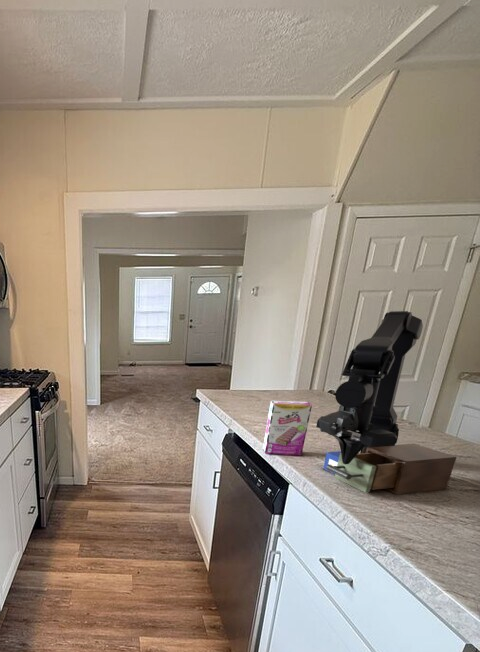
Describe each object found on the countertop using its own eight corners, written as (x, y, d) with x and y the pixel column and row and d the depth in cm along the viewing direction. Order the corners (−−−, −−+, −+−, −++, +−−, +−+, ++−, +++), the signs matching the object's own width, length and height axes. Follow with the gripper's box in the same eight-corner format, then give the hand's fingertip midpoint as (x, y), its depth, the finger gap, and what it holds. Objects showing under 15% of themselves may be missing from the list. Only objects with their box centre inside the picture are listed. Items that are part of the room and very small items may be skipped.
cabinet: (395, 494, 98) (405, 461, 95) (359, 477, 109) (366, 447, 106) (445, 489, 101) (457, 456, 97) (405, 472, 111) (413, 443, 108)
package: (323, 468, 115) (326, 452, 113) (337, 467, 116) (340, 451, 114) (341, 477, 109) (345, 460, 107) (355, 476, 109) (360, 459, 108)
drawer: (348, 494, 96) (354, 468, 94) (318, 478, 106) (323, 454, 103) (412, 488, 99) (420, 462, 97) (378, 473, 109) (384, 449, 106)
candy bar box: (265, 454, 128) (272, 403, 121) (262, 449, 132) (269, 400, 126) (302, 456, 125) (312, 404, 119) (298, 451, 130) (308, 400, 124)
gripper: (303, 395, 101) (292, 454, 106) (361, 411, 84) (345, 480, 89) (342, 393, 102) (329, 451, 108) (407, 408, 85) (388, 476, 91)
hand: (345, 463), depth 99 cm, fingers closed
